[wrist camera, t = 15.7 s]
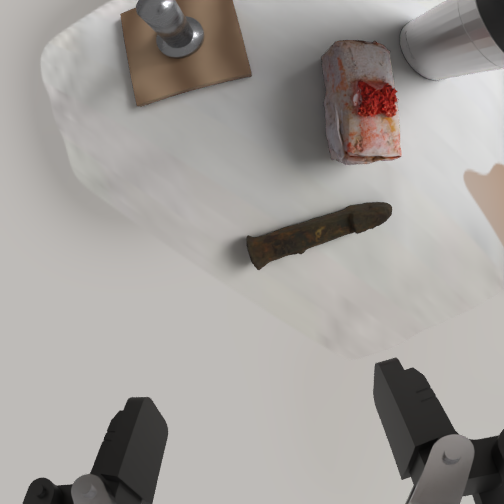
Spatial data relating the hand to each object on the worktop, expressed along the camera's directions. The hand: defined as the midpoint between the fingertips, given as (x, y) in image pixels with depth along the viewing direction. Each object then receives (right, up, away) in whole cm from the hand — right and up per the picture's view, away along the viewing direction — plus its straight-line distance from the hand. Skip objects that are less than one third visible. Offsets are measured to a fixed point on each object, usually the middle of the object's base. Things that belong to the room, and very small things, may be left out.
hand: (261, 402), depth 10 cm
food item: (+11, +23, +24) cm, 35 cm away
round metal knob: (-9, +30, +19) cm, 37 cm away
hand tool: (+8, +9, +29) cm, 32 cm away
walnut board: (-9, +31, +20) cm, 38 cm away
